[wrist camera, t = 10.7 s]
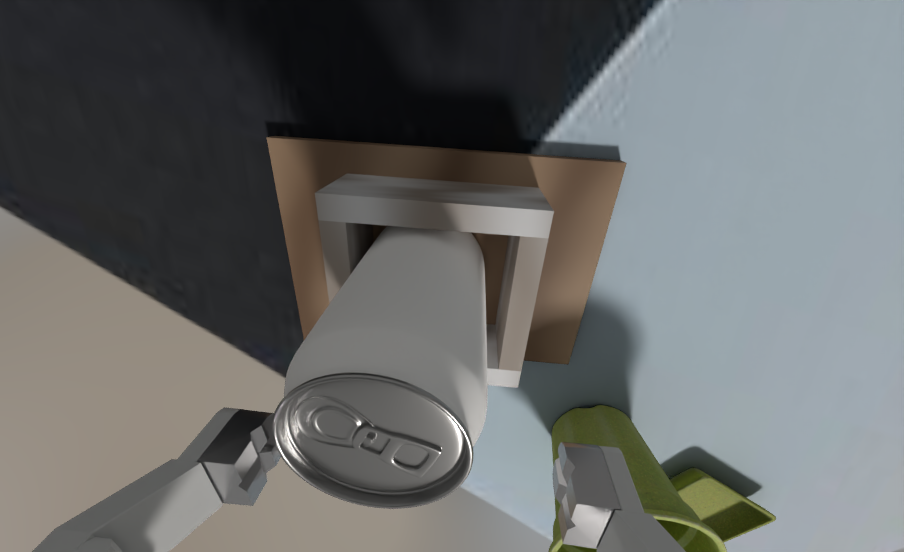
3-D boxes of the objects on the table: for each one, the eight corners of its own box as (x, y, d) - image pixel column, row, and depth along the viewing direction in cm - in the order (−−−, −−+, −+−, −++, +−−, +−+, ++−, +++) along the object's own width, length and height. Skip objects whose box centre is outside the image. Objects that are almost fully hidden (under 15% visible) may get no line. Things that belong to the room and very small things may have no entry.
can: (400, 187, 18) (287, 319, 7) (506, 243, 19) (537, 428, 8) (359, 281, 21) (235, 471, 10) (452, 324, 22) (426, 538, 11)
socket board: (615, 157, 18) (666, 181, 13) (563, 349, 24) (584, 413, 19) (281, 134, 19) (212, 148, 14) (313, 327, 25) (273, 383, 20)
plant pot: (506, 442, 28) (517, 573, 20) (576, 367, 24) (623, 496, 16) (600, 480, 30) (643, 615, 22) (682, 415, 25) (770, 555, 18)
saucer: (611, 498, 31) (619, 523, 29) (692, 451, 28) (707, 476, 26) (676, 532, 33) (688, 558, 31) (761, 492, 29) (779, 519, 28)
